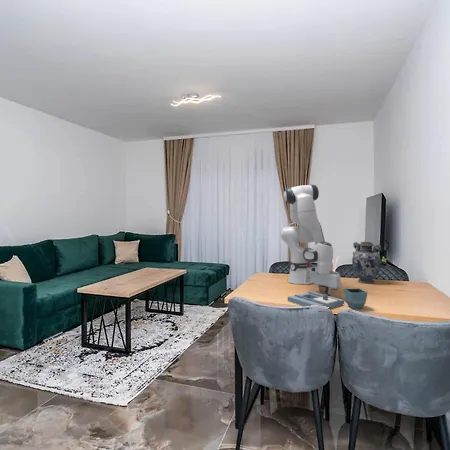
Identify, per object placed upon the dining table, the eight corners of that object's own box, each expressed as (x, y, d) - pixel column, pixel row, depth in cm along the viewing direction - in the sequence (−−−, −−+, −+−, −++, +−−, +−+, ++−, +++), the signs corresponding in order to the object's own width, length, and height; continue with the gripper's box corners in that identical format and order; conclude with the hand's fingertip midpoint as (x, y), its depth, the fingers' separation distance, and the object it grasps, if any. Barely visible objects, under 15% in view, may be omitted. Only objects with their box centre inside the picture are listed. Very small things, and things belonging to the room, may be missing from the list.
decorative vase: (388, 282, 226) (388, 242, 225) (373, 286, 216) (373, 244, 214) (360, 277, 244) (360, 240, 243) (345, 281, 234) (345, 242, 232)
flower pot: (343, 305, 175) (343, 288, 174) (358, 304, 175) (359, 288, 175) (350, 310, 166) (351, 292, 166) (367, 309, 167) (367, 292, 166)
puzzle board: (312, 295, 193) (312, 290, 193) (343, 304, 175) (344, 298, 175) (287, 301, 182) (287, 295, 182) (318, 311, 164) (318, 304, 164)
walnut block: (324, 294, 195) (324, 284, 195) (330, 296, 192) (330, 286, 191) (319, 295, 193) (319, 285, 192) (325, 297, 189) (325, 287, 189)
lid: (324, 297, 179) (324, 291, 179) (337, 301, 172) (337, 295, 172) (312, 300, 174) (312, 294, 174) (326, 304, 167) (326, 298, 167)
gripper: (343, 272, 184) (343, 296, 185) (315, 266, 201) (314, 288, 202) (336, 273, 181) (335, 297, 182) (308, 267, 198) (307, 290, 199)
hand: (324, 293), depth 192 cm, fingers closed on walnut block, 4 cm apart
